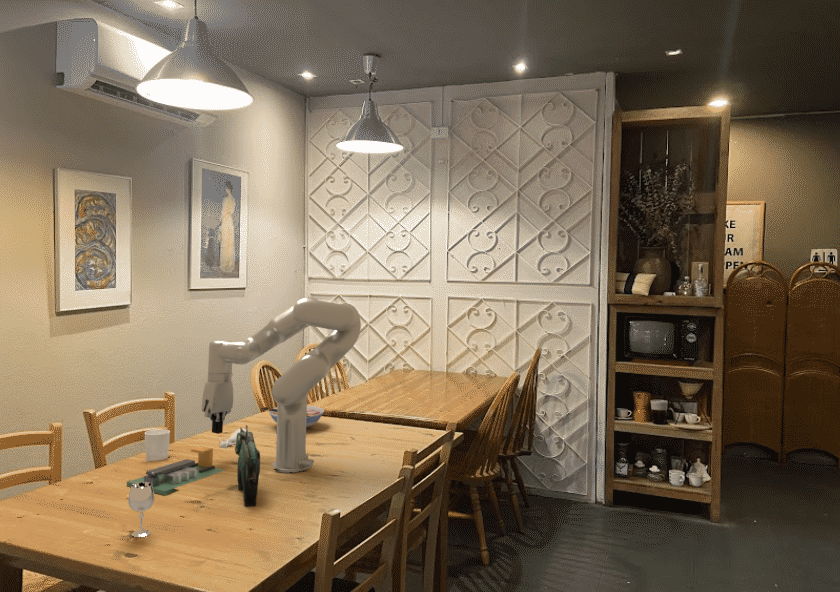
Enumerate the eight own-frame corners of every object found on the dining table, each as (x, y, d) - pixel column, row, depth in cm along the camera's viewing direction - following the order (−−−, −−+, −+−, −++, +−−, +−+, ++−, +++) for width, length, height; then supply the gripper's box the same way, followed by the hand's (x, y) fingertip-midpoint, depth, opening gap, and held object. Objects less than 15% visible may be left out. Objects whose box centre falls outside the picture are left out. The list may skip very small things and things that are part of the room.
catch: (212, 466, 208) (212, 448, 207) (202, 470, 204) (202, 451, 204) (201, 464, 210) (201, 446, 210) (191, 467, 206) (191, 449, 206)
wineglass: (133, 529, 159) (133, 481, 159) (157, 529, 160) (157, 481, 160) (124, 538, 154) (124, 488, 153) (149, 538, 154) (149, 488, 154)
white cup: (160, 465, 212) (161, 435, 212) (139, 463, 214) (139, 433, 214) (174, 459, 220) (174, 430, 220) (153, 457, 222) (153, 428, 221)
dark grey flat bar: (195, 463, 202) (195, 460, 202) (154, 476, 188) (154, 473, 188) (186, 462, 204) (187, 459, 204) (145, 474, 190) (145, 471, 190)
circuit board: (226, 473, 205) (226, 467, 205) (164, 495, 184) (165, 488, 184) (189, 465, 213) (189, 459, 213) (126, 485, 191) (126, 479, 191)
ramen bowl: (337, 427, 272) (337, 408, 272) (300, 438, 252) (300, 417, 252) (293, 419, 285) (293, 400, 285) (254, 428, 266) (254, 409, 265)
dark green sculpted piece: (233, 486, 194) (234, 419, 193) (255, 484, 196) (256, 418, 195) (239, 508, 175) (240, 435, 175) (263, 506, 177) (265, 434, 177)
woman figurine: (258, 427, 250) (235, 442, 232) (259, 438, 250) (235, 454, 233) (231, 425, 253) (206, 439, 235) (231, 436, 253) (206, 451, 236)
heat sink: (199, 476, 198) (199, 469, 198) (163, 489, 186) (163, 480, 186) (170, 470, 203) (170, 462, 203) (133, 482, 191) (134, 473, 191)
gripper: (227, 373, 221) (225, 426, 222) (193, 378, 208) (191, 435, 208) (244, 376, 218) (241, 430, 218) (211, 381, 204) (208, 439, 205)
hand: (217, 432), depth 213 cm, fingers closed
